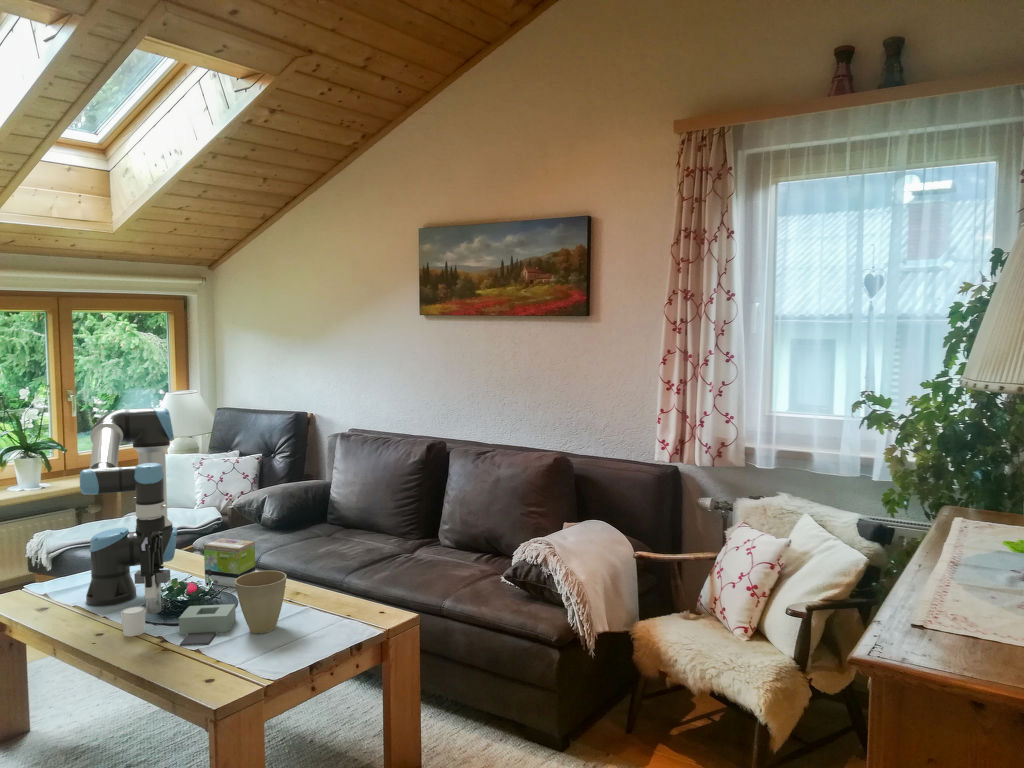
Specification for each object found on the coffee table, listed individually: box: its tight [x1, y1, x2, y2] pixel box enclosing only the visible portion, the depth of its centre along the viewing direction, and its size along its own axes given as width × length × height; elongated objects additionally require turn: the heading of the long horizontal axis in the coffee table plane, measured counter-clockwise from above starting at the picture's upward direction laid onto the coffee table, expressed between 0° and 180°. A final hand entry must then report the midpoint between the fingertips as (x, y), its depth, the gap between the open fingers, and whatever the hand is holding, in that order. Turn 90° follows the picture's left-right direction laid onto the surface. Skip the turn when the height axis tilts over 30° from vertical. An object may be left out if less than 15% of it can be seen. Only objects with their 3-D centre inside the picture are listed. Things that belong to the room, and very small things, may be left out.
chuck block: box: [178, 603, 237, 635], centre depth 230 cm, size 14×10×5 cm
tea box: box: [203, 537, 256, 588], centre depth 272 cm, size 15×10×15 cm
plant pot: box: [235, 570, 287, 634], centre depth 228 cm, size 15×15×16 cm
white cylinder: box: [120, 605, 147, 637], centre depth 226 cm, size 7×7×7 cm
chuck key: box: [133, 569, 171, 615], centre depth 221 cm, size 9×4×12 cm, turn 97°
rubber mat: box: [179, 632, 217, 647], centre depth 221 cm, size 8×8×1 cm
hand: (153, 594), depth 221 cm, fingers closed on chuck key, 4 cm apart
